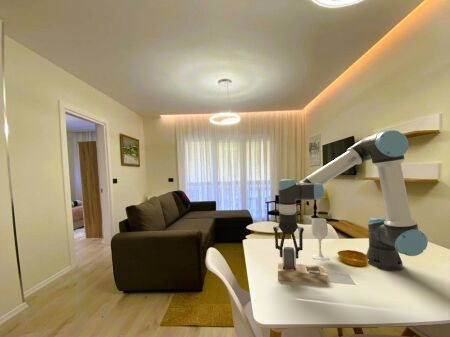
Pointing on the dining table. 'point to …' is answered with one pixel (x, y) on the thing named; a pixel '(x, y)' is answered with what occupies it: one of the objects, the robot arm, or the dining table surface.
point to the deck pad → (340, 278)
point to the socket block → (303, 273)
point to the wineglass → (319, 235)
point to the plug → (288, 258)
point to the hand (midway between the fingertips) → (289, 264)
